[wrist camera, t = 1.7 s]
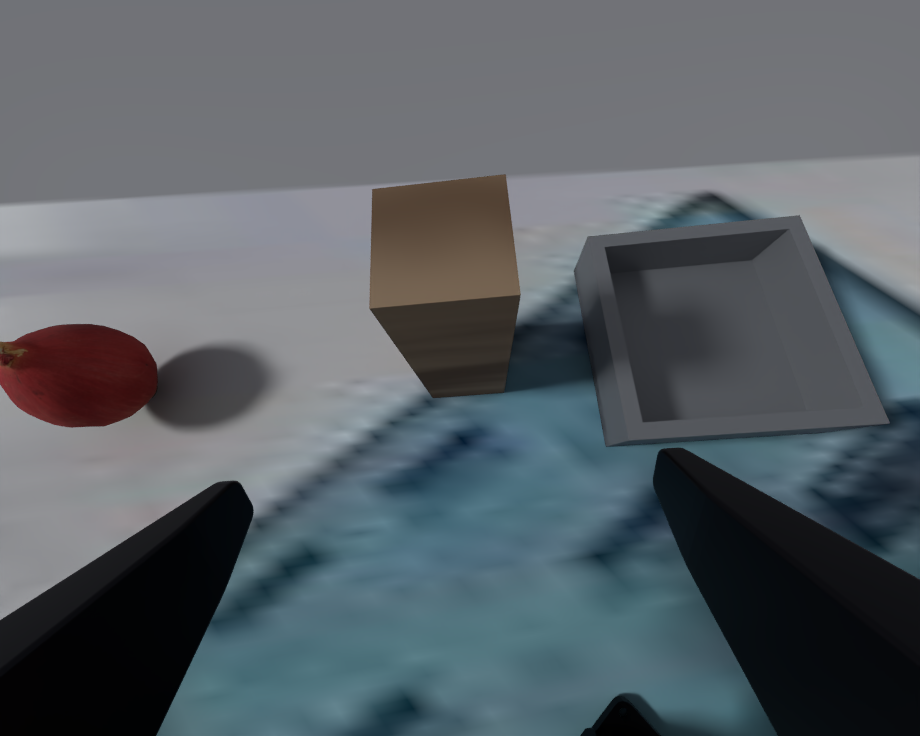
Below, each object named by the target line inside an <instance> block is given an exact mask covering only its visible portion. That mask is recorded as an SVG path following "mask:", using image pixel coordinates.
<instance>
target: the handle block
mask: <svg viewBox="0 0 920 736" xmlns="http://www.w3.org/2000/svg"><path fill="white" fill-rule="evenodd" d="M520 295H521V294H520V286H519V278H518V270H517V262H516V254H515V246H514V238H513V230H512V222H511V214H510V206H509V198H508V190H507V182H506V175H495V176H487V177H477V178H468V179H459V180H450V181H442V182H433V183H424V184H415V185H406V186H397V187H388V188H379V189H372V227H371V267H370V307H369V309H370V310H371V311H372V313H373V314H374V316H375V317H376V318H377V320H378V321H379V323H380V324H381V325H382V327H383V328H384V330H385V331H386V333H387V334H388V335H389V337H390V338H391V340H392V341H393V342H394V344H395V345H396V347H397V348H398V349H399V351H400V352H401V354H402V355H403V356H404V358H405V359H406V361H407V362H408V364H409V365H410V366H411V368H412V369H413V371H414V372H415V373H416V375H417V376H418V378H419V379H420V380H421V382H422V383H423V385H424V386H425V388H426V389H427V390H428V392H429V393H430V395H431V396H432V397H433V398H440V397H453V396H467V395H480V394H494V393H504V390H505V384H506V378H507V372H508V366H509V360H510V354H511V348H512V343H513V337H514V331H515V325H516V319H517V313H518V307H519V301H520Z"/></svg>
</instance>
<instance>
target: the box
mask: <svg viewBox="0 0 920 736" xmlns="http://www.w3.org/2000/svg"><path fill="white" fill-rule="evenodd" d="M574 274H575V280H576V285H577V291H578V296H579V302H580V307H581V313H582V318H583V324H584V329H585V335H586V340H587V346H588V351H589V357H590V362H591V368H592V373H593V379H594V384H595V390H596V395H597V401H598V406H599V412H600V417H601V423H602V429H603V434H604V440H605V445H606V447H609V446H624V445H640V444H656V443H671V442H687V441H702V440H718V439H734V438H749V437H765V436H780V435H796V434H812V433H824V432H831V431H838V430H846V429H853V428H860V427H868V426H875V425H883V424H890V422H889V420H888V418H887V415H886V413H885V411H884V408H883V406H882V404H881V401H880V399H879V397H878V395H877V392H876V390H875V388H874V385H873V383H872V381H871V378H870V376H869V374H868V372H867V369H866V367H865V365H864V362H863V360H862V358H861V355H860V353H859V351H858V349H857V346H856V344H855V342H854V339H853V337H852V335H851V332H850V330H849V328H848V326H847V323H846V321H845V319H844V316H843V314H842V312H841V309H840V307H839V305H838V303H837V300H836V298H835V296H834V293H833V291H832V289H831V286H830V284H829V282H828V280H827V277H826V275H825V273H824V270H823V268H822V266H821V263H820V261H819V259H818V256H817V254H816V252H815V250H814V247H813V245H812V243H811V240H810V238H809V236H808V233H807V231H806V229H805V227H804V224H803V222H802V220H801V217H800V215H799V216H789V217H779V218H769V219H759V220H749V221H739V222H729V223H719V224H709V225H699V226H689V227H679V228H669V229H659V230H649V231H639V232H629V233H619V234H609V235H599V236H589V237H587V240H586V242H585V245H584V247H583V250H582V252H581V255H580V257H579V260H578V262H577V265H576V267H575V270H574Z"/></svg>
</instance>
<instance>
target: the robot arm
mask: <svg viewBox="0 0 920 736" xmlns="http://www.w3.org/2000/svg"><path fill="white" fill-rule="evenodd" d="M653 486H654V489H655V492H656V494H657V497H658V499H659V502H660V504H661V506H662V509H663V511H664V514H665V516H666V518H667V521H668V523H669V526H670V528H671V530H672V533H673V535H674V538H675V540H676V542H677V545H678V547H679V550H680V552H681V554H682V557H683V559H684V561H685V563H686V565H687V567H688V569H689V571H690V573H691V575H692V577H693V579H694V581H695V583H696V585H697V586H698V588H699V590H700V592H701V594H702V596H703V598H704V599H705V601H706V603H707V605H708V607H709V609H710V611H711V612H712V614H713V616H714V618H715V620H716V622H717V624H718V625H719V627H720V629H721V631H722V633H723V635H724V637H725V638H726V640H727V642H728V644H729V646H730V648H731V650H732V651H733V653H734V655H735V657H736V659H737V661H738V663H739V664H740V666H741V668H742V670H743V672H744V674H745V676H746V677H747V679H748V681H749V683H750V685H751V687H752V689H753V690H754V692H755V694H756V696H757V698H758V700H759V702H760V703H761V705H762V707H763V709H764V711H765V713H766V715H767V716H768V718H769V720H770V722H771V724H772V726H773V728H774V729H775V731H776V733H777V735H778V736H920V579H918V578H916V577H914V576H913V575H911V574H909V573H907V572H905V571H904V570H902V569H900V568H898V567H896V566H895V565H893V564H891V563H889V562H887V561H886V560H884V559H882V558H880V557H878V556H877V555H875V554H873V553H871V552H869V551H868V550H866V549H864V548H862V547H860V546H859V545H857V544H855V543H853V542H851V541H850V540H848V539H846V538H844V537H842V536H841V535H839V534H837V533H835V532H833V531H832V530H830V529H828V528H826V527H824V526H823V525H821V524H819V523H817V522H815V521H814V520H812V519H810V518H808V517H806V516H804V515H803V514H801V513H799V512H797V511H795V510H794V509H792V508H790V507H788V506H786V505H785V504H783V503H781V502H779V501H777V500H776V499H774V498H772V497H770V496H768V495H767V494H765V493H763V492H761V491H759V490H758V489H756V488H754V487H752V486H750V485H749V484H747V483H745V482H743V481H741V480H740V479H738V478H736V477H734V476H732V475H731V474H729V473H727V472H725V471H723V470H722V469H720V468H718V467H716V466H714V465H713V464H711V463H709V462H707V461H705V460H704V459H702V458H700V457H698V456H696V455H695V454H693V453H691V452H689V451H687V450H685V449H683V448H666V449H661V450H660V451H659V452H658V455H657V460H656V465H655V470H654V475H653ZM252 518H253V505H252V503H251V501H250V500H249V498H248V496H247V494H246V492H245V490H244V489H243V487H242V485H241V484H240V483H239V482H238V481H222V482H217V483H215V484H213V485H212V486H210V487H208V488H207V489H205V490H204V491H202V492H201V493H199V494H197V495H196V496H194V497H193V498H191V499H190V500H188V501H187V502H185V503H183V504H182V505H180V506H179V507H177V508H176V509H174V510H172V511H171V512H169V513H168V514H166V515H165V516H163V517H161V518H160V519H158V520H157V521H155V522H154V523H152V524H150V525H149V526H147V527H146V528H144V529H143V530H141V531H139V532H138V533H136V534H135V535H133V536H132V537H130V538H128V539H127V540H125V541H124V542H122V543H121V544H119V545H117V546H116V547H114V548H113V549H111V550H110V551H108V552H106V553H105V554H103V555H102V556H100V557H99V558H97V559H95V560H94V561H92V562H91V563H89V564H88V565H86V566H84V567H83V568H81V569H80V570H78V571H77V572H75V573H73V574H72V575H70V576H69V577H67V578H66V579H64V580H62V581H61V582H59V583H58V584H56V585H55V586H53V587H52V588H50V589H48V590H47V591H45V592H44V593H42V594H41V595H39V596H37V597H36V598H34V599H33V600H31V601H30V602H28V603H26V604H25V605H23V606H22V607H20V608H19V609H17V610H15V611H14V612H12V613H11V614H9V615H8V616H6V617H4V618H3V619H1V620H0V736H156V735H157V733H158V731H159V729H160V727H161V725H162V723H163V721H164V718H165V716H166V714H167V712H168V710H169V708H170V706H171V704H172V702H173V699H174V697H175V695H176V693H177V691H178V689H179V687H180V685H181V683H182V681H183V678H184V676H185V674H186V672H187V670H188V668H189V666H190V664H191V662H192V659H193V657H194V655H195V653H196V651H197V649H198V647H199V645H200V643H201V641H202V638H203V636H204V634H205V632H206V630H207V628H208V626H209V624H210V622H211V619H212V617H213V615H214V613H215V611H216V609H217V607H218V605H219V603H220V600H221V598H222V596H223V594H224V592H225V589H226V587H227V584H228V582H229V579H230V577H231V574H232V572H233V569H234V566H235V563H236V561H237V558H238V555H239V553H240V550H241V547H242V545H243V542H244V539H245V537H246V534H247V531H248V529H249V526H250V523H251V521H252ZM621 708H626V709H627V713H626V715H625V716H620V715H619V711H620V709H621ZM580 736H661V735H660V734H659V733H658V732H657V731H656V730H655V729H654V728H653V726H652V725H651V724H650V723H649V722H648V721H647V720H646V719H645V718H644V717H643V716H642V715H641V713H640V712H639V711H638V710H637V709H636V708H635V707H634V706H633V705H632V704H631V703H630V702H629V700H627V699H626V698H625V697H622V696H617V697H615V698H614V699H613V700H612V701H611V702H610V704H609V705H608V706H607V708H606V709H605V710H604V712H603V713H602V714H601V716H600V717H599V718H598V720H597V721H596V722H595V724H594V725H593V726H592V728H586V729H585V730H584V731H583V733H582V734H581V735H580Z"/></svg>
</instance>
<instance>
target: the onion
mask: <svg viewBox="0 0 920 736" xmlns="http://www.w3.org/2000/svg"><path fill="white" fill-rule="evenodd" d="M157 383H158V378H157V364H156V362H155V361H154V359H153V357H152V355H151V354H150V352H149V350H148V349H147V347H146V346H145V345H144V344H143V343H142V342H140V341H139V340H137V339H136V338H134V337H133V336H130V335H128V334H126V333H123V332H121V331H119V330H115V329H112V328H109V327H105V326H100V325H93V324H67V325H57V326H52V327H48V328H44V329H41V330H38V331H35V332H32V333H29V334H26V335H24V336H22V337H20V338H18V339H17V340H15V341H13V342H0V385H1V386H2V388H3V389H4V390H5V392H6V393H7V395H8V396H9V398H10V399H11V400H12V402H13V403H14V404H15V405H16V406H17V407H18V408H20V409H21V410H23V411H24V412H26V413H27V414H29V415H32V416H34V417H36V418H38V419H40V420H43V421H46V422H48V423H51V424H54V425H58V426H65V427H89V426H106V425H109V424H112V423H115V422H118V421H121V420H123V419H125V418H128V417H130V416H132V415H133V414H135V413H136V412H137V411H138V410H139V409H141V408H142V407H143V406H144V405H146V404H147V403H148V402H149V400H150V399H151V398H152V397H153V396H154V395H155V393H156V391H157Z"/></svg>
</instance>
